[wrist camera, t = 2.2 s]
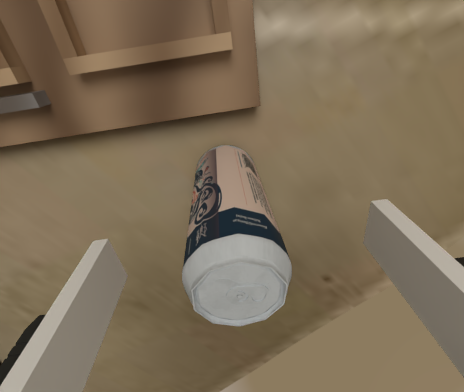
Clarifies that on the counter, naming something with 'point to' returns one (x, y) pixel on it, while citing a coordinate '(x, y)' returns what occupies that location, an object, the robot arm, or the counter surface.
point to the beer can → (233, 243)
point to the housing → (121, 64)
